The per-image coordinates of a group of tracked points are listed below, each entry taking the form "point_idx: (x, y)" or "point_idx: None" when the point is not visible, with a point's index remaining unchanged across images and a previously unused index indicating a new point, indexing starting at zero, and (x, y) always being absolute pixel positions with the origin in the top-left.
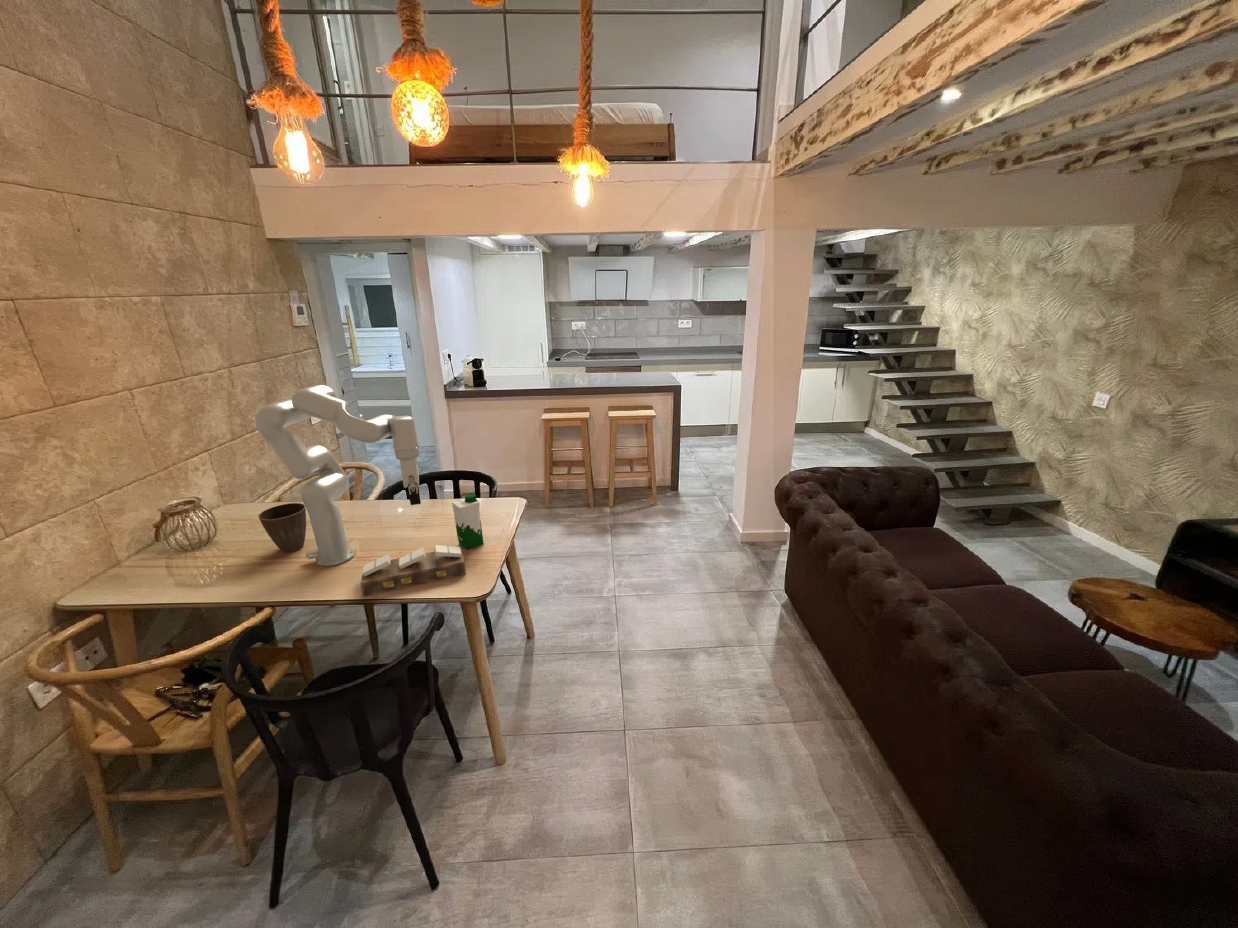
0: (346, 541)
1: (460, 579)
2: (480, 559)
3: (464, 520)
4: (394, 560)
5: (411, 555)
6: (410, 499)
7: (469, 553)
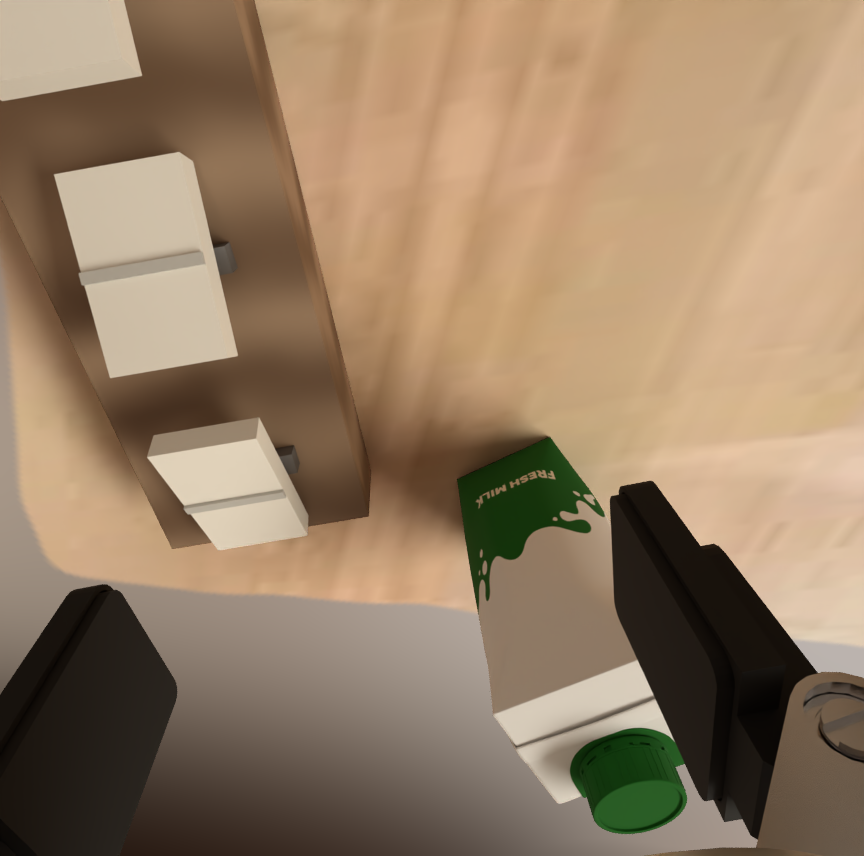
0: None
1: None
2: (339, 546)
3: (487, 626)
4: (231, 90)
5: (148, 272)
6: (13, 693)
7: (417, 495)
